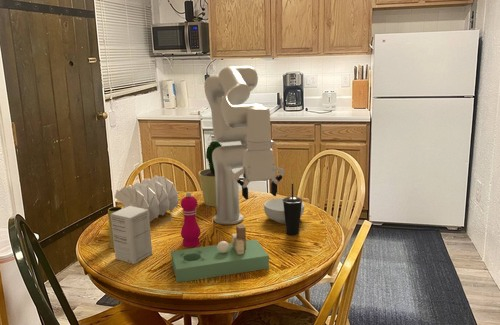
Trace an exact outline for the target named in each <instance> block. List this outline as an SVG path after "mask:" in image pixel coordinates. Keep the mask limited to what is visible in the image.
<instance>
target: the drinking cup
mask: <svg viewBox="0 0 500 325" xmlns="http://www.w3.org/2000/svg"><path fill="white" fill-rule="evenodd" d="M303 200H304V199H303V198H301V197H299V196H294V183H291V196H287V197H284V199H283V204H284V214H285V223H284V224H285V231H286V232H285V234H286V235H288V236H291V237H294V236H298V235H299V234H300V226H301V225H300V223H301V217H302V216H301V206H302V202H303V203H304V201H303ZM300 216H301V217H300Z"/></svg>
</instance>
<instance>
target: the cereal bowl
mask: <svg viewBox="0 0 500 325" xmlns="http://www.w3.org/2000/svg"><path fill="white" fill-rule="evenodd" d="M284 198H285V197H284ZM284 198H283V197H282V198H273V199H269V200H266V201H265V202H264V204H263V211H264V213H265V215H266V216H267V217H268V218H269V219H270V220H272V221H275V223H279V224H285V214H284V204H283V199H284ZM304 212H305V204H304V201H303V202H302V206H301V216H300V218H301V217H302V216H303V214H304Z"/></svg>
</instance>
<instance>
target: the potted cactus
mask: <svg viewBox="0 0 500 325" xmlns="http://www.w3.org/2000/svg"><path fill="white" fill-rule="evenodd" d="M221 146H223V144H222V143H221V142H217V141H216V140H211V141H210V142H209V143H208V146H207V148H206V151H205V155H203V157H205V160H206V159H207V160H206V162H207V163H208V164H207V165H208V166H207V167H208V168H205V169H202V170H200V171H198V177H199V182H200V187H201V191H202V197H203V203H204V205H206V206H208V207H217V204H216V181H215V170H214V165H213V160H212V153H213V151H214V150H215V149H216V148H218V147H221Z"/></svg>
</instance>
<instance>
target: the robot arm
mask: <svg viewBox="0 0 500 325" xmlns="http://www.w3.org/2000/svg"><path fill="white" fill-rule="evenodd" d="M258 80H259V77H258V73H257V71H256V69H255V68H254V67H252V66H250V65H239V66H238V65H237V66H236V65H235V66H226V67H224V68H222V69H221V70H220V71H219V73H218V74H217V75H211V76H208V77H207V78H205V81H204V87H203V88H204V93H205V94H204V95H205V97H206V100H207V102H208V105H209V107H210V110H211V120H212V123H211V124H212V132H213V137H214V141H217V142H219V143H221V144H224V143H235V142H237V143H238V142H240V143H241V144H234V145H233V144H230V145H222V146H221V147H218V148H216V149H215V150H214V151H213V153H212V160H213V165H214V170H215V181H216V204H217V206H216V214H215V215H214V216H213V221H214V222H215V223H216V224H219V225H225V226H226V225H235V224H236V225H237V224H239V223H241V222H243V220H244V215H243V214H242V213H241V212H240V186H241V196H242V197H243V198H244V199H245V200H248V199H249V187H248V185H249V184H250V183H251V182H258V181H259V182H260V181H270V180H271V183H270V194H271V195H272V196H273V197H277V193H278V184H279V183H280V182H281V180H282V179H283V176H284V174H285V172H286V171H285V169H284V168H282V167H279V166H277V165H276V163H275V162H276V161H275V156H274V151H273V149H272V146H275V145H276V144H275V143H276V141H275V140H272V139H271V111H270V108H268V107H266V106H264V105H263V104H260V103H249V104H247V103H246V104H244V103H245V102H246V101H248V99H249V98H250V96H251V92H252V91H253V90H255V88H256V87H257V85H258V82H259V81H258ZM234 169H240V170H238V171H236V172H234V171H233V170H234ZM276 171H277V172H278V174H277V175H276ZM241 176H242V178H243V179H242V180H241V179H240V177H241ZM239 185H240V186H239Z"/></svg>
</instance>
